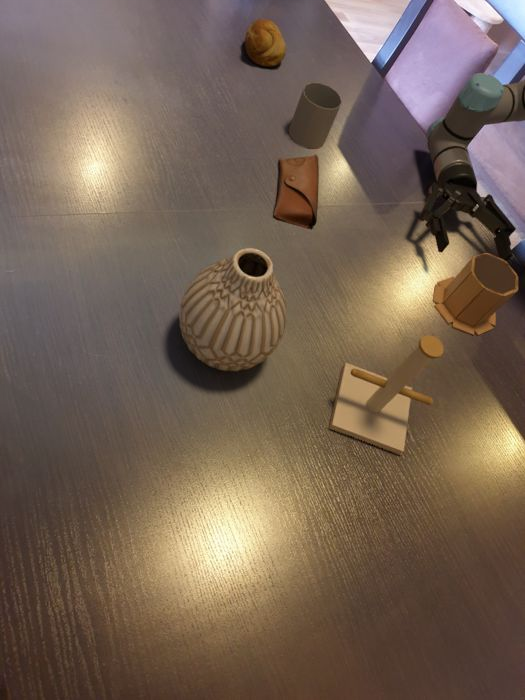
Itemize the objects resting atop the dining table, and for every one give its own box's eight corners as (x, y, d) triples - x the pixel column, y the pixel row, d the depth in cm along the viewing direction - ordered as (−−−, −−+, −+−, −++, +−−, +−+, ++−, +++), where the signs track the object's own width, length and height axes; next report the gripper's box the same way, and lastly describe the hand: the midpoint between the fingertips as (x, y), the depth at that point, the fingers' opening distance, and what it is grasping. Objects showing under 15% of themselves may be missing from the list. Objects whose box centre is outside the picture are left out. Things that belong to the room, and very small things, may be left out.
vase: (203, 401, 84) (232, 329, 68) (155, 319, 90) (171, 233, 73) (288, 364, 92) (333, 291, 75) (240, 290, 97) (271, 207, 81)
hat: (495, 293, 113) (527, 261, 105) (493, 343, 106) (528, 314, 98) (436, 269, 113) (464, 236, 104) (430, 319, 105) (459, 286, 97)
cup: (307, 119, 127) (322, 78, 119) (332, 142, 125) (349, 102, 117) (281, 129, 123) (295, 88, 115) (306, 153, 121) (322, 113, 113)
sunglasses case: (277, 155, 117) (301, 137, 113) (299, 176, 121) (323, 159, 117) (272, 217, 107) (299, 200, 103) (297, 237, 112) (323, 221, 107)
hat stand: (411, 393, 95) (479, 329, 79) (403, 456, 88) (476, 401, 72) (338, 365, 94) (391, 294, 78) (324, 426, 87) (379, 363, 71)
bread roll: (241, 34, 138) (248, 1, 131) (279, 43, 140) (288, 10, 134) (243, 66, 131) (251, 32, 125) (283, 74, 134) (293, 42, 127)
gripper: (496, 200, 125) (519, 276, 114) (393, 178, 119) (407, 255, 108) (517, 174, 119) (544, 251, 107) (409, 150, 113) (426, 228, 102)
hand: (475, 253), depth 108 cm, fingers open, 13 cm apart
